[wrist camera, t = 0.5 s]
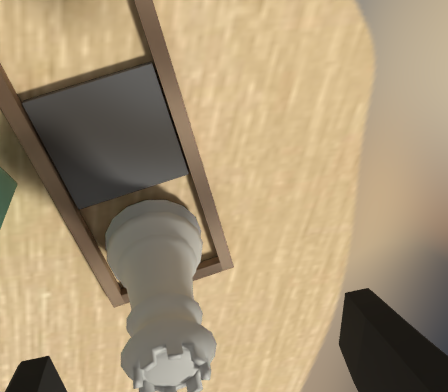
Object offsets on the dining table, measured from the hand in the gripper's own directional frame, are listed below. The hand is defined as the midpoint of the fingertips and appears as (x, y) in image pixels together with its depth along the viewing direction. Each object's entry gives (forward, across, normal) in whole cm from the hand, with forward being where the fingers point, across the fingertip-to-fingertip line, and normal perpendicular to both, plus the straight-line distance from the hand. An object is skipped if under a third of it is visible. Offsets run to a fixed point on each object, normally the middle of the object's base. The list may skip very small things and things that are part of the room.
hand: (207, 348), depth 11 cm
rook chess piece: (+10, +1, +4) cm, 11 cm away
